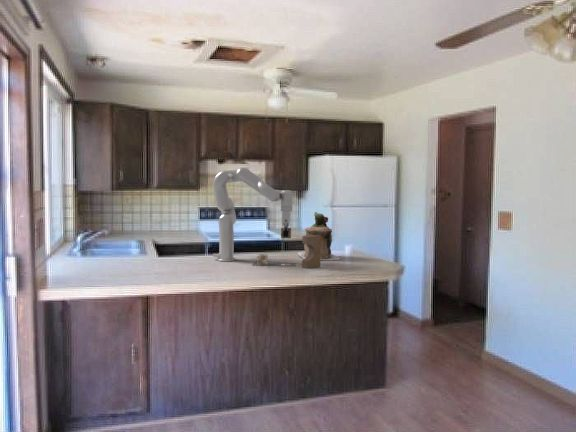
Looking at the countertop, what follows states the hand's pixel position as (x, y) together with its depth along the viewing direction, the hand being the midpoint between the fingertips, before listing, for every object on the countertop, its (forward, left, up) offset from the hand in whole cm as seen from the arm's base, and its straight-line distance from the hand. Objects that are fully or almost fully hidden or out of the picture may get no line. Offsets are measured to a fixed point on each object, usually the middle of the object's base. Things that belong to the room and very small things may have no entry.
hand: (285, 235), depth 327 cm
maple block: (-15, -11, -17) cm, 25 cm away
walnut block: (0, 0, -1) cm, 1 cm away
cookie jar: (+23, +16, -18) cm, 33 cm away
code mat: (-7, -11, -17) cm, 22 cm away
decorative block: (+16, -18, -18) cm, 30 cm away
